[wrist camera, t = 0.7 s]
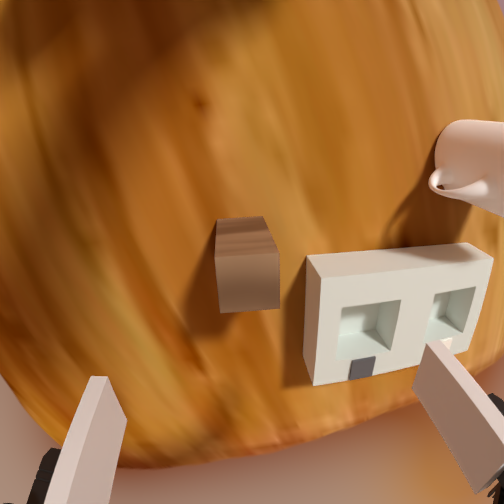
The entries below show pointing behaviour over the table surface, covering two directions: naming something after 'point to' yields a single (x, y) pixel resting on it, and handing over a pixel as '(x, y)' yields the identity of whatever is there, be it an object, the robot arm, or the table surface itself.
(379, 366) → the socket board
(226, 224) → the plug
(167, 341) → the table surface
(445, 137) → the mug
